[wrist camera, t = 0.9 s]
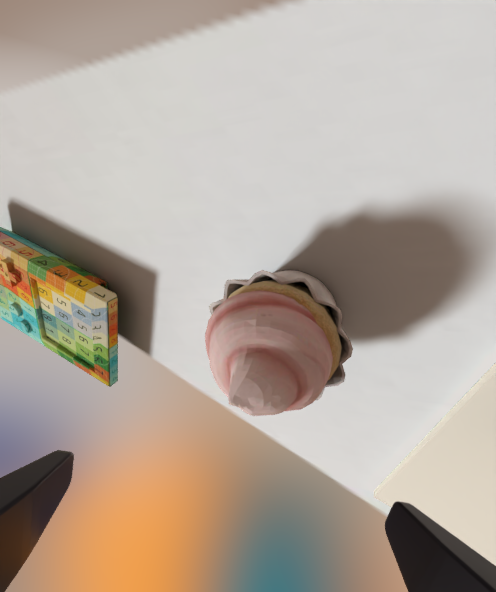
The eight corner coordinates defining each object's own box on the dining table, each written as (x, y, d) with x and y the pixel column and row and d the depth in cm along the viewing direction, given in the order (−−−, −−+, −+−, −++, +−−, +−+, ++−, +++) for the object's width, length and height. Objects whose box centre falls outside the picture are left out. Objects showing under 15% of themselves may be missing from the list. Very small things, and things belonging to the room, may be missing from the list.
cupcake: (228, 253, 21) (129, 309, 13) (357, 243, 17) (333, 317, 9) (248, 354, 24) (180, 450, 16) (360, 366, 20) (346, 503, 12)
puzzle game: (-46, 224, 28) (99, 306, 23) (6, 217, 32) (139, 286, 27) (-17, 313, 34) (103, 392, 29) (24, 298, 38) (135, 366, 33)
